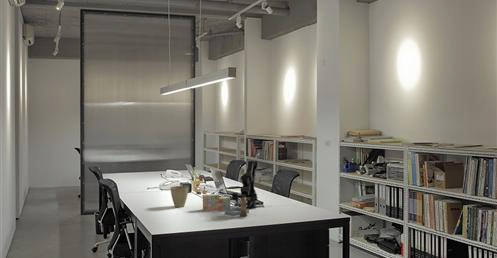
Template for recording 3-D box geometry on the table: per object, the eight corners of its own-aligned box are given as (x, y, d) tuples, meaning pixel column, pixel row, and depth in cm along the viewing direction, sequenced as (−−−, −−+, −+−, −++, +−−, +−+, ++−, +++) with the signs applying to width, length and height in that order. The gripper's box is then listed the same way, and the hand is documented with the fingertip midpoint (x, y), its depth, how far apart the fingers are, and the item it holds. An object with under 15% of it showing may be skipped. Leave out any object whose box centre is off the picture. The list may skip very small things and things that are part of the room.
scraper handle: (243, 214, 361) (243, 196, 361) (248, 215, 357) (248, 197, 357) (238, 215, 357) (237, 197, 357) (243, 217, 353) (243, 198, 353)
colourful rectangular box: (229, 208, 388) (229, 193, 387) (230, 209, 382) (230, 194, 381) (202, 209, 383) (202, 194, 383) (203, 211, 377) (203, 195, 377)
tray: (237, 210, 377) (237, 207, 376) (248, 212, 368) (248, 209, 368) (224, 213, 366) (224, 210, 366) (235, 215, 358) (235, 212, 358)
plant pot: (172, 209, 385) (172, 189, 385) (168, 205, 399) (168, 186, 399) (190, 207, 391) (190, 188, 391) (186, 204, 405) (186, 185, 404)
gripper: (232, 182, 363) (229, 199, 353) (256, 182, 360) (254, 199, 349) (234, 191, 371) (231, 207, 360) (258, 191, 368) (256, 208, 357)
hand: (243, 205), depth 357 cm, fingers open, 9 cm apart
